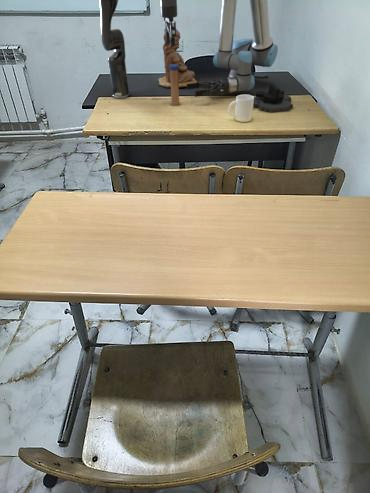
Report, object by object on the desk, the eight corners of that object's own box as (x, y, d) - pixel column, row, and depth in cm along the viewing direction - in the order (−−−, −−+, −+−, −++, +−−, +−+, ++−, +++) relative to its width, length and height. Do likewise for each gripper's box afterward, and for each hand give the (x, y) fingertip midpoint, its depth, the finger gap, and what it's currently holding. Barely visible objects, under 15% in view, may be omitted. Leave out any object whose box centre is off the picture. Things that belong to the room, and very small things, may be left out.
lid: (168, 68, 184) (168, 64, 183) (178, 67, 184) (178, 63, 183) (169, 70, 180) (169, 66, 179) (179, 69, 181) (179, 66, 179)
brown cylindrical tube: (171, 103, 195) (169, 65, 183) (178, 102, 195) (177, 65, 183) (172, 105, 192) (170, 67, 180) (179, 105, 192) (178, 67, 180)
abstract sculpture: (255, 94, 173) (243, 83, 188) (253, 113, 179) (242, 100, 194) (304, 90, 176) (288, 79, 191) (301, 109, 182) (286, 97, 197)
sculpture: (197, 88, 213) (196, 30, 194) (156, 89, 214) (152, 31, 194) (196, 75, 234) (196, 22, 215) (159, 76, 235) (156, 23, 215)
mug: (229, 123, 170) (230, 101, 163) (225, 117, 176) (226, 95, 170) (254, 121, 171) (256, 99, 164) (249, 115, 177) (251, 93, 171)
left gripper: (157, 3, 167) (159, 42, 178) (164, 7, 157) (166, 48, 167) (172, 2, 169) (174, 41, 179) (180, 5, 158) (181, 47, 169)
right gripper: (236, 99, 190) (199, 104, 185) (218, 86, 208) (183, 91, 203) (237, 84, 185) (198, 89, 180) (218, 72, 203) (183, 76, 198)
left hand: (170, 44), depth 173 cm, fingers open, 8 cm apart
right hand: (190, 90), depth 191 cm, fingers open, 13 cm apart
